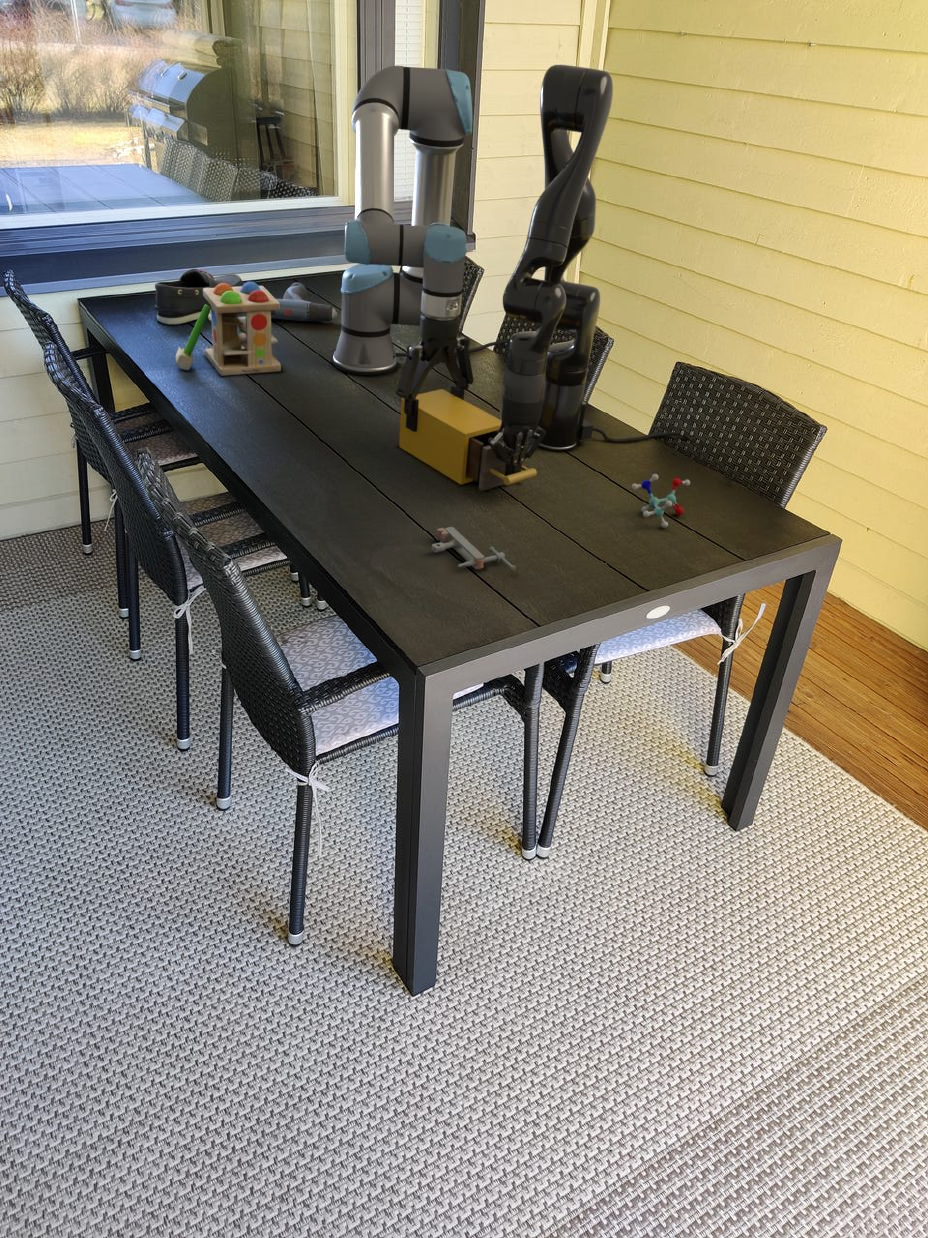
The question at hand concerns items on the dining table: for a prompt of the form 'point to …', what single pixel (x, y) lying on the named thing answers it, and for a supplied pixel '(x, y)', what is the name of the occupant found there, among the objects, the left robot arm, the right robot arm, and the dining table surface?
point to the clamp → (465, 549)
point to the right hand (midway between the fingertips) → (512, 479)
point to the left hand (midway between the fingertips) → (433, 423)
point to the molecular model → (654, 501)
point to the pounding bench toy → (229, 347)
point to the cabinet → (445, 432)
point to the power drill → (301, 307)
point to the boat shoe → (187, 295)
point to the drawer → (490, 464)
